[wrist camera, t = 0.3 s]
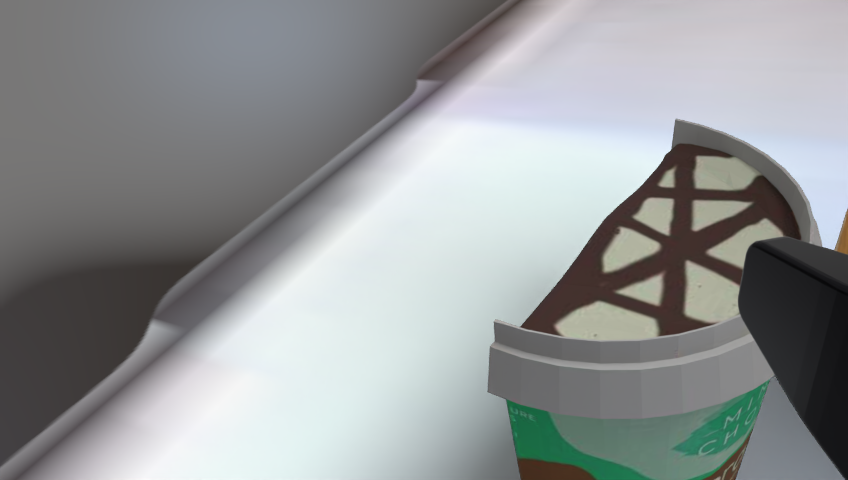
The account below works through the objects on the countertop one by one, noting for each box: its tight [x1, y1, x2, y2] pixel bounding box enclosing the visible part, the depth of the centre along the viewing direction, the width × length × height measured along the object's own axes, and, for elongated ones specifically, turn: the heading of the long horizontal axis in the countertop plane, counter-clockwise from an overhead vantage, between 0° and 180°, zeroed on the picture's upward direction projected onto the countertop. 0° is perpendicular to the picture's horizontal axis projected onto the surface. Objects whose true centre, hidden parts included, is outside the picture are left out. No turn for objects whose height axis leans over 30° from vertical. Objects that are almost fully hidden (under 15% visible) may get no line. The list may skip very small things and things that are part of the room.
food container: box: [488, 119, 822, 480], centre depth 23 cm, size 12×6×10 cm, turn 143°
